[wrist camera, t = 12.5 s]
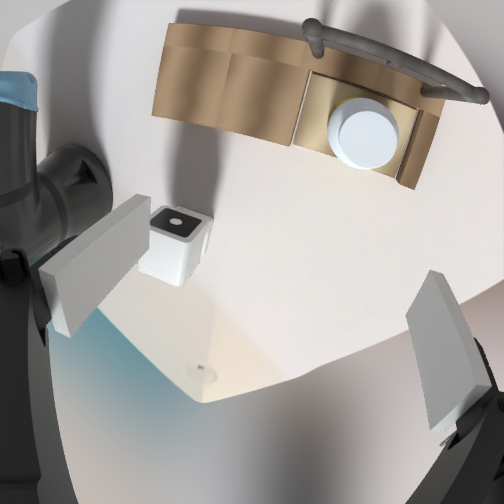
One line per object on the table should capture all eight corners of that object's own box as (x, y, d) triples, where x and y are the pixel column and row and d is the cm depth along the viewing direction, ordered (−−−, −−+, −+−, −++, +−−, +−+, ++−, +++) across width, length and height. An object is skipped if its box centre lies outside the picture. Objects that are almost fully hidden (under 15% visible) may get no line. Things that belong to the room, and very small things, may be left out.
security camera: (219, 209, 41) (189, 243, 32) (209, 252, 44) (180, 293, 36) (176, 194, 41) (137, 224, 33) (169, 238, 45) (134, 274, 36)
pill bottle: (335, 88, 30) (340, 86, 20) (390, 109, 30) (419, 116, 20) (319, 142, 34) (316, 163, 24) (373, 161, 33) (392, 191, 23)
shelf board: (159, 114, 36) (73, 136, 22) (176, 25, 30) (91, 2, 16) (410, 185, 33) (456, 247, 20) (441, 93, 27) (512, 100, 14)
